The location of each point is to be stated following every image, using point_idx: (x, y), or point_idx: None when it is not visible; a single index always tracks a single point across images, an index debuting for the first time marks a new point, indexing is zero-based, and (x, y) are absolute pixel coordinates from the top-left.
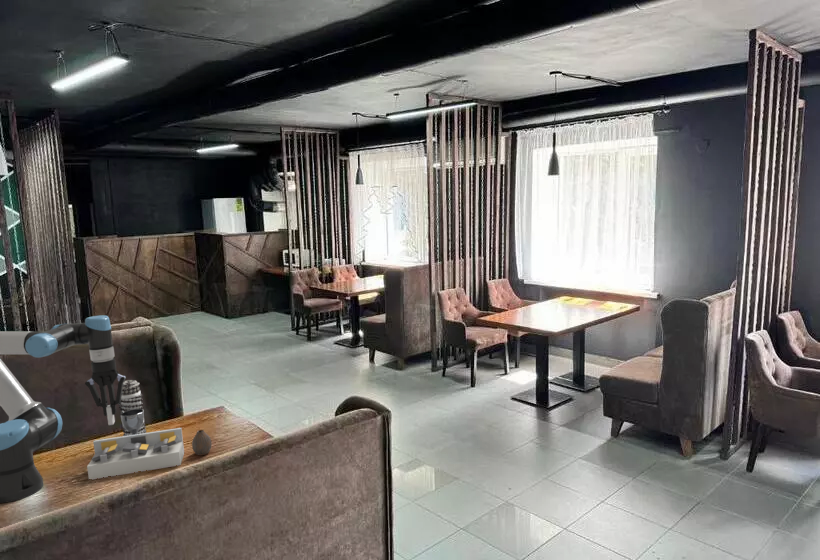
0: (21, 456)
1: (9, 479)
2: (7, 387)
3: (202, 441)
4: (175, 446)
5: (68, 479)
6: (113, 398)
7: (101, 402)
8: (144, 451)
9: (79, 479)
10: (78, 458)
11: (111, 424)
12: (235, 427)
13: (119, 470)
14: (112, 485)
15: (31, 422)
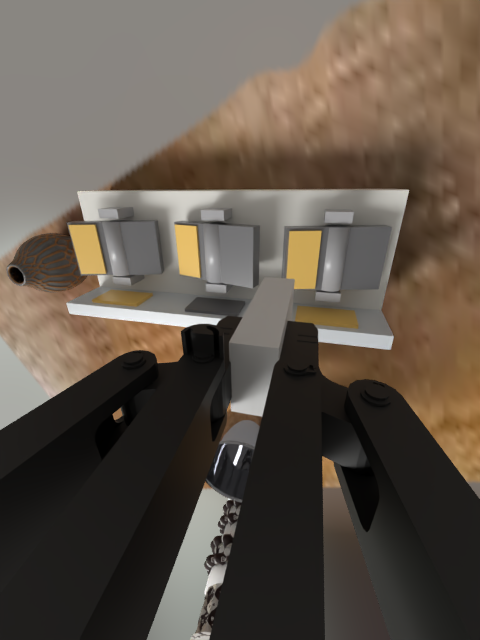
0: None
1: None
2: None
3: (27, 241)
4: None
5: (473, 230)
6: (144, 414)
7: (334, 441)
8: (184, 221)
9: (430, 211)
10: (436, 393)
11: (274, 278)
12: (57, 377)
13: (282, 189)
14: (298, 90)
15: None
